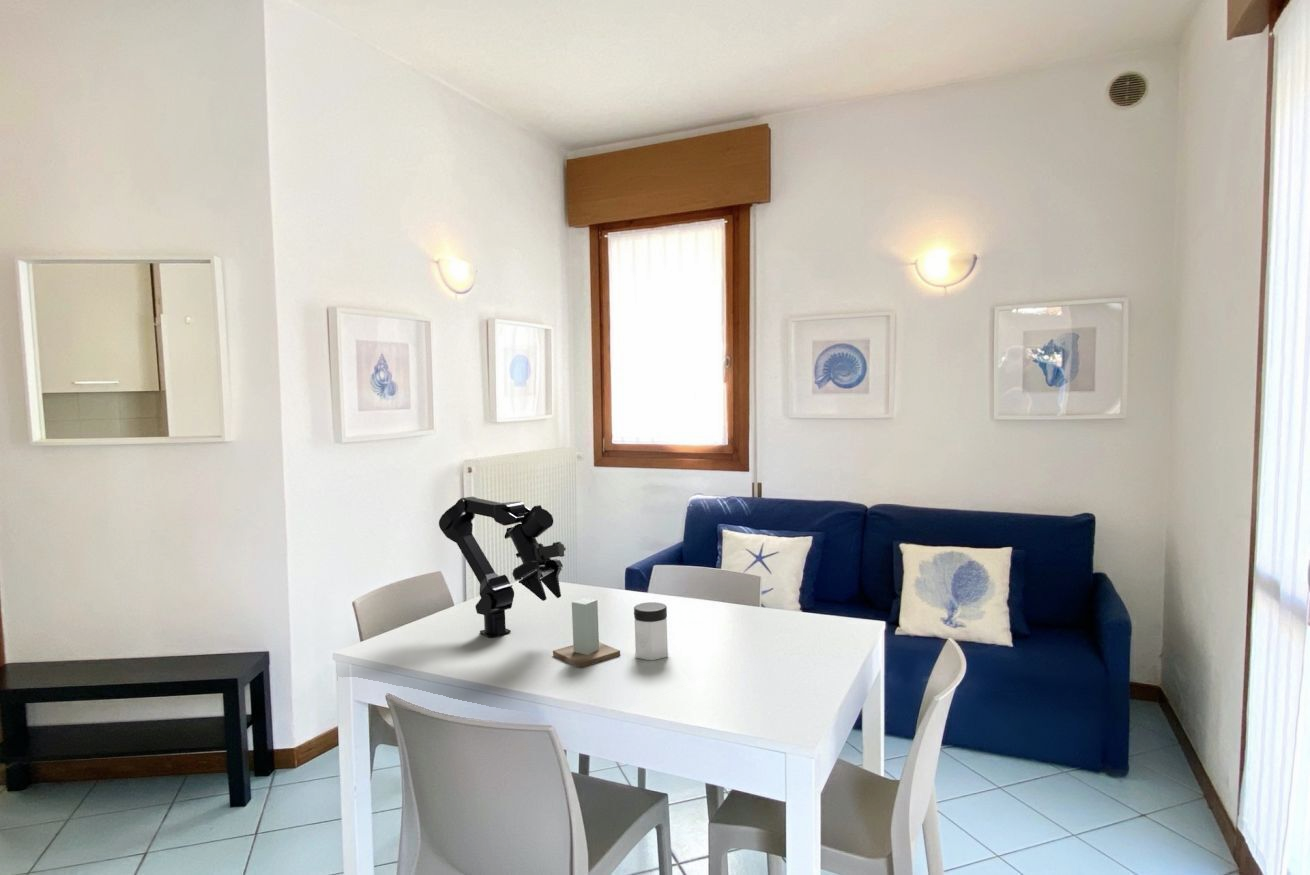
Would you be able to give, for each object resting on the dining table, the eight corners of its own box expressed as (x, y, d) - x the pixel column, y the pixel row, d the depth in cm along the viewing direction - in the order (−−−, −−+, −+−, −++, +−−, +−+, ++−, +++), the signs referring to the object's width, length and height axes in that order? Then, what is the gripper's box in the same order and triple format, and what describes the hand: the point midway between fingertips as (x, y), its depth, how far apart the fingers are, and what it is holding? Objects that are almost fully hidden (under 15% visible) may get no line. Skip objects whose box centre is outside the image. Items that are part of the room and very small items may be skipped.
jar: (627, 657, 173) (626, 608, 172) (644, 646, 180) (642, 600, 179) (659, 662, 168) (657, 613, 168) (675, 651, 175) (673, 604, 175)
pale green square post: (573, 651, 174) (571, 601, 174) (585, 646, 178) (583, 597, 177) (587, 655, 171) (585, 604, 171) (599, 649, 175) (597, 600, 175)
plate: (553, 655, 175) (552, 650, 175) (592, 643, 183) (592, 639, 183) (580, 668, 166) (579, 663, 166) (620, 655, 174) (620, 650, 174)
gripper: (536, 529, 175) (563, 585, 171) (565, 530, 193) (590, 581, 189) (500, 551, 177) (526, 607, 173) (532, 550, 195) (557, 601, 191)
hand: (552, 598), depth 181 cm, fingers open, 9 cm apart
